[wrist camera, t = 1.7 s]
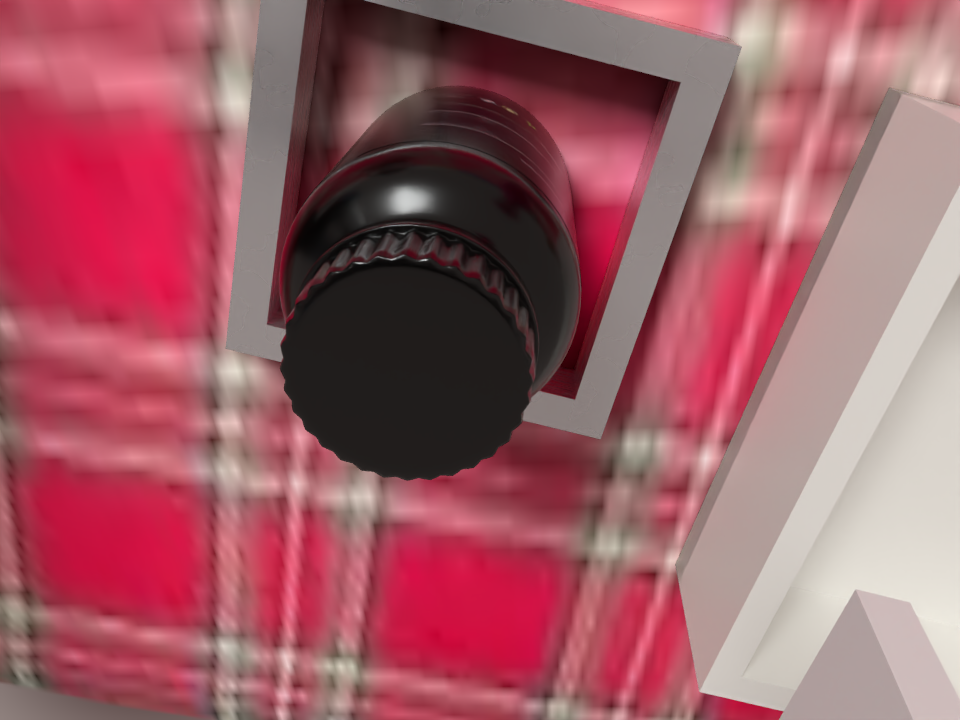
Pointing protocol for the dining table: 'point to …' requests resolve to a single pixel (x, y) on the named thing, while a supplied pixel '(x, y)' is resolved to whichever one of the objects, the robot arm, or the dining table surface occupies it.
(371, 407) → the supplement bottle
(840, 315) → the bin
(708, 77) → the socket collar
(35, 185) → the dining table surface
